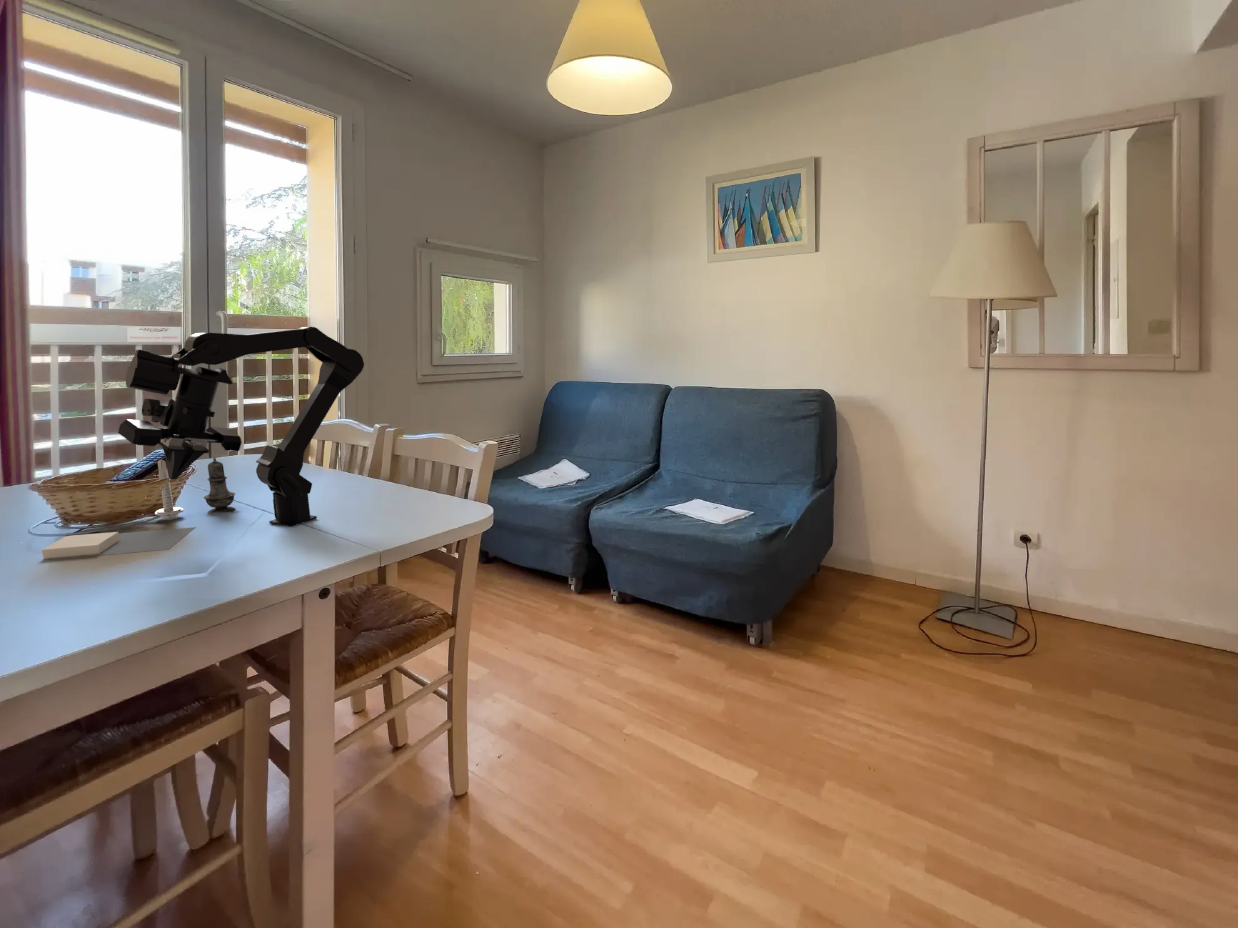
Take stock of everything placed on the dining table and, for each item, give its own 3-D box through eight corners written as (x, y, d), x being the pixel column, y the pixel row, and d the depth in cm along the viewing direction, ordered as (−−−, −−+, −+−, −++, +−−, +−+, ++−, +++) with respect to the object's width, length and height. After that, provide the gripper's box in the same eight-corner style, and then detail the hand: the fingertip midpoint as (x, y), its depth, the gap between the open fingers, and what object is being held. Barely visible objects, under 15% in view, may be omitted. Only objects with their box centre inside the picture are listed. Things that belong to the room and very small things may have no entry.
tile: (118, 531, 119) (66, 536, 117) (97, 544, 111) (41, 549, 109) (119, 540, 119) (68, 544, 117) (99, 553, 112) (43, 558, 109)
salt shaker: (226, 514, 137) (219, 460, 135) (199, 515, 138) (191, 460, 135) (242, 507, 143) (236, 454, 141) (217, 507, 143) (209, 455, 141)
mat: (196, 529, 127) (195, 527, 127) (169, 551, 114) (169, 549, 114) (88, 538, 122) (87, 535, 122) (47, 562, 109) (46, 560, 109)
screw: (153, 525, 130) (159, 519, 135) (181, 522, 132) (186, 516, 137) (143, 462, 128) (149, 458, 132) (172, 460, 130) (177, 456, 134)
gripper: (221, 392, 129) (200, 464, 131) (114, 377, 112) (92, 460, 114) (253, 411, 124) (230, 485, 126) (146, 399, 107) (123, 484, 109)
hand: (172, 478), depth 119 cm, fingers closed
